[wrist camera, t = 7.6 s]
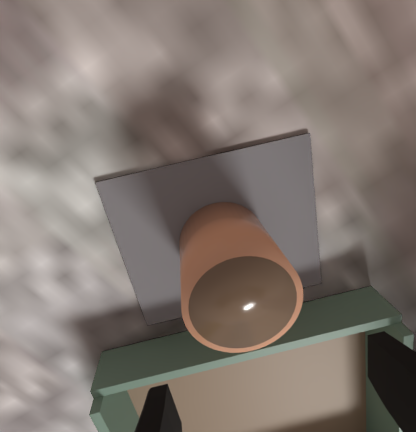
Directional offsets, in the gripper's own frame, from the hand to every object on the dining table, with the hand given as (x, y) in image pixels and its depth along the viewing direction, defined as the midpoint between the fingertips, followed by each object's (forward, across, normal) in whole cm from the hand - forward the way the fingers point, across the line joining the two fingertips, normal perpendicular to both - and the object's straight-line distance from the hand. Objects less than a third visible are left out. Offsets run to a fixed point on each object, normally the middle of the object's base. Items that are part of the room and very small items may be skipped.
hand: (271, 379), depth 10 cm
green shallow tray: (+9, 0, +14) cm, 16 cm away
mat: (+9, 0, -2) cm, 9 cm away
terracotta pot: (+9, 0, -1) cm, 9 cm away
